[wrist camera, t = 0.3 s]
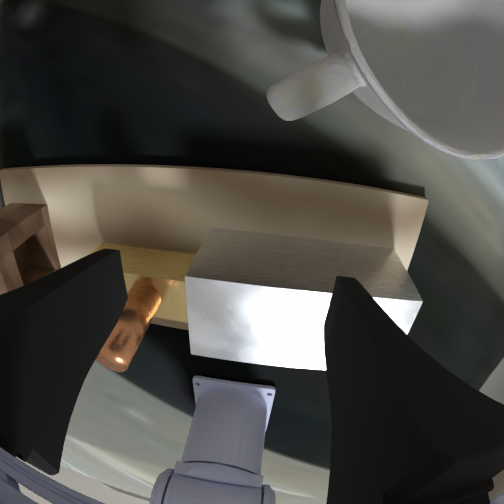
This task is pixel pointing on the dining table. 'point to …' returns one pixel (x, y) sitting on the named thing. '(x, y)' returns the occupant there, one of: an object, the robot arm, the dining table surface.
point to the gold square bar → (145, 298)
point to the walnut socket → (25, 245)
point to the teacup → (411, 70)
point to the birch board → (207, 208)
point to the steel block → (283, 294)
